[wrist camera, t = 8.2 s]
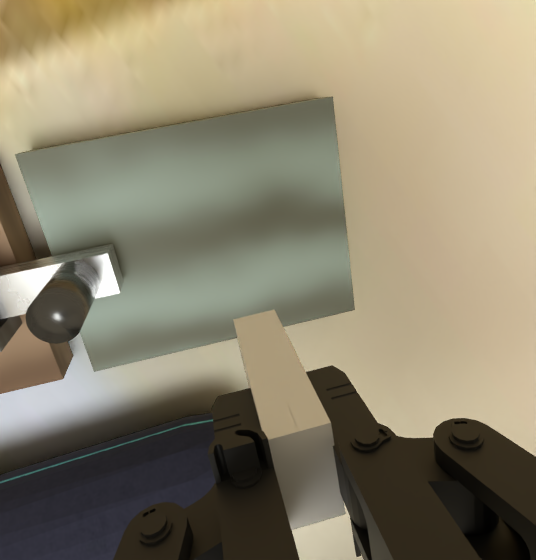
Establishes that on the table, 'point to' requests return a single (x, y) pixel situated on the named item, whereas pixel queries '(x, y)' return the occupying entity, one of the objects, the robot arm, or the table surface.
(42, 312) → the grey piece
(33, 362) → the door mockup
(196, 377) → the table surface
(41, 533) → the portable speaker
